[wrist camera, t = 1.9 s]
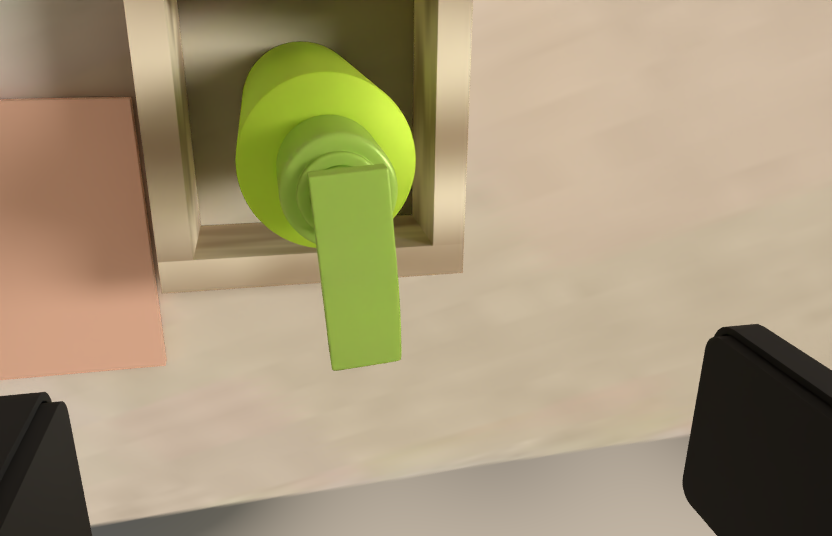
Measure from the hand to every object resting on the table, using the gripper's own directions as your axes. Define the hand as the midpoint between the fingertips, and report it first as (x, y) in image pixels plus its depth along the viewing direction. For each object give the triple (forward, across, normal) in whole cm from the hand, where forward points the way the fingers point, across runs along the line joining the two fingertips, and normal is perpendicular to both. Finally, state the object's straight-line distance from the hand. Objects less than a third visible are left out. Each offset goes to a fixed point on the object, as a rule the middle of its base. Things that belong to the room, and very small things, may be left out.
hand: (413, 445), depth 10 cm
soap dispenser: (+28, 0, 0) cm, 28 cm away
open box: (+28, 0, 0) cm, 28 cm away
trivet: (+28, +15, +6) cm, 32 cm away
